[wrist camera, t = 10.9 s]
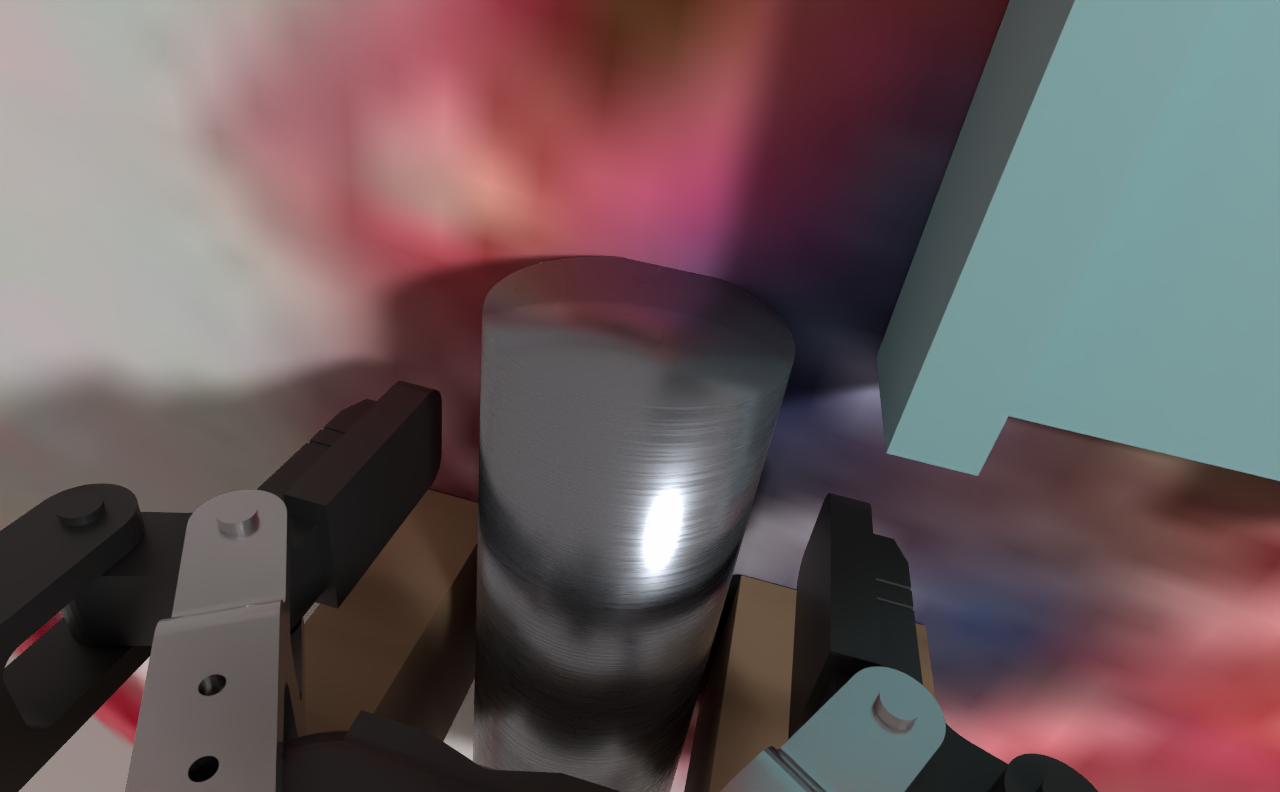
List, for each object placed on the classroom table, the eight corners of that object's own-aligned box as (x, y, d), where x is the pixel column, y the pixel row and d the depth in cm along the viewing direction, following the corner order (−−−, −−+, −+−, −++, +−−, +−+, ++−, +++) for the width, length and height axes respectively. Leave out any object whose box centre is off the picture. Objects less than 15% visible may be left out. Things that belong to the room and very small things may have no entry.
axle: (673, 742, 21) (641, 934, 17) (509, 699, 21) (440, 877, 17) (797, 289, 13) (794, 439, 9) (539, 237, 13) (426, 358, 9)
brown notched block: (855, 755, 19) (864, 1120, 13) (417, 625, 20) (245, 902, 14) (925, 625, 16) (978, 1013, 10) (414, 485, 17) (199, 757, 11)
